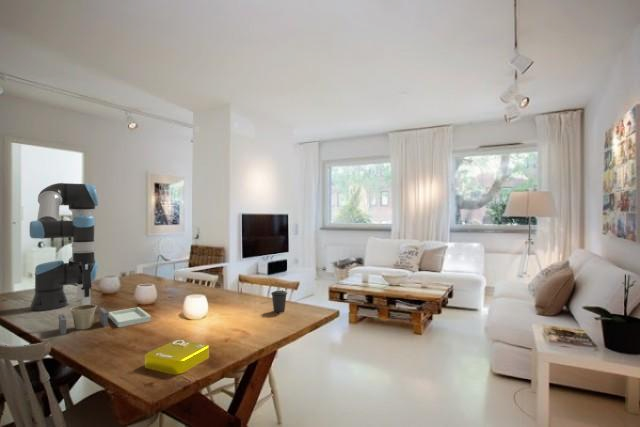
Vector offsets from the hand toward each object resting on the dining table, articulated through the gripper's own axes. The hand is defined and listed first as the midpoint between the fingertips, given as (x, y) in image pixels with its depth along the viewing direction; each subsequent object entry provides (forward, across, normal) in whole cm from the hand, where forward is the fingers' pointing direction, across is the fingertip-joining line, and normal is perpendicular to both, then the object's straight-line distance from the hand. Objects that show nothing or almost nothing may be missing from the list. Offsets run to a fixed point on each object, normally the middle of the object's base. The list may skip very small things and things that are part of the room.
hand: (83, 301), depth 145 cm
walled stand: (+11, 0, 0) cm, 11 cm away
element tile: (+12, +60, +18) cm, 64 cm away
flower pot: (+11, 0, 0) cm, 11 cm away
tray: (+11, 0, +18) cm, 21 cm away
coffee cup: (+12, +36, +76) cm, 85 cm away
